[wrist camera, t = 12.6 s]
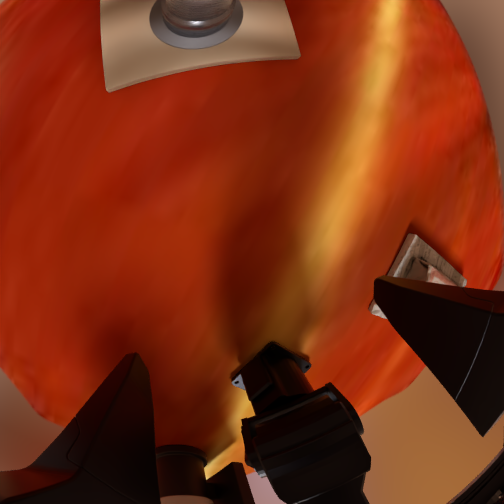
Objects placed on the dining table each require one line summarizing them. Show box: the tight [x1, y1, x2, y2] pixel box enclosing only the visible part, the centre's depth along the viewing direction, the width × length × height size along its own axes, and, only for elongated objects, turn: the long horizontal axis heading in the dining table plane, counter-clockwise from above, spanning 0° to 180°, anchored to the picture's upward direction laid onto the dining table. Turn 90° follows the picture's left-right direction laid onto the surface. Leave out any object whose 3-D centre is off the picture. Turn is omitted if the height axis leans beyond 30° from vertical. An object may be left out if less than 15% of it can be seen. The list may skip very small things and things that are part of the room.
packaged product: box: [368, 233, 467, 319], centre depth 28 cm, size 18×5×10 cm
